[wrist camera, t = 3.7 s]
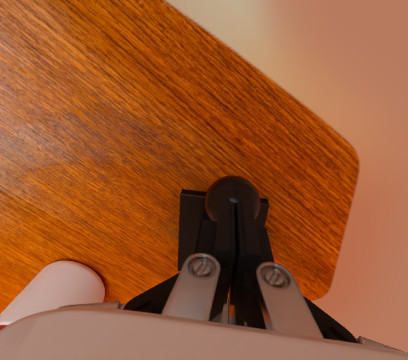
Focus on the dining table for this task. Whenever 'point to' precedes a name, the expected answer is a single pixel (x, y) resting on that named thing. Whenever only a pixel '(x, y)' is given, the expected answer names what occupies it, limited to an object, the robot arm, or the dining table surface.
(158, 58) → the dining table surface
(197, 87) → the dining table surface
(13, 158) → the dining table surface
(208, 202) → the lever
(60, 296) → the cup
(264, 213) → the bracket
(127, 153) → the dining table surface
